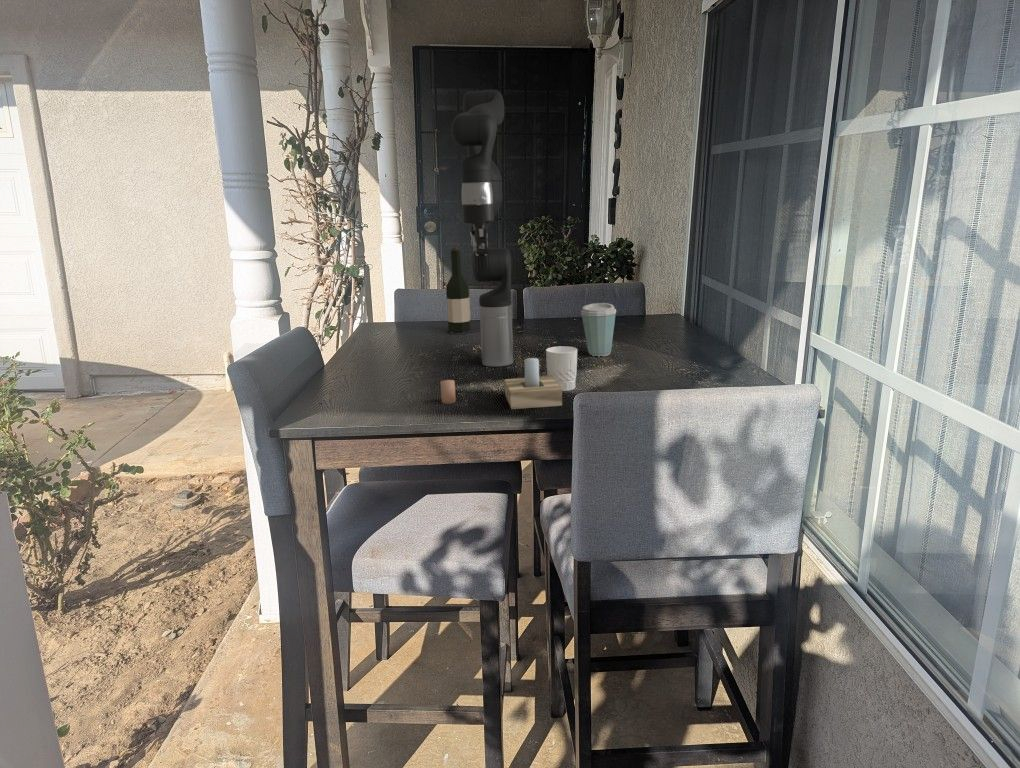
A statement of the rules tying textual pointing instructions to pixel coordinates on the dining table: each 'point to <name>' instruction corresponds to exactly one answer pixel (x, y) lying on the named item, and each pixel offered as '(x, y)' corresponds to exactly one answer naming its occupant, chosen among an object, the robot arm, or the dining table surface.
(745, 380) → the dining table surface
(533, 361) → the long dowel
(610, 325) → the disposable coffee cup
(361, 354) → the dining table surface
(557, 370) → the white cup
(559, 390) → the hole block
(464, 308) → the wine bottle
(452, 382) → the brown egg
